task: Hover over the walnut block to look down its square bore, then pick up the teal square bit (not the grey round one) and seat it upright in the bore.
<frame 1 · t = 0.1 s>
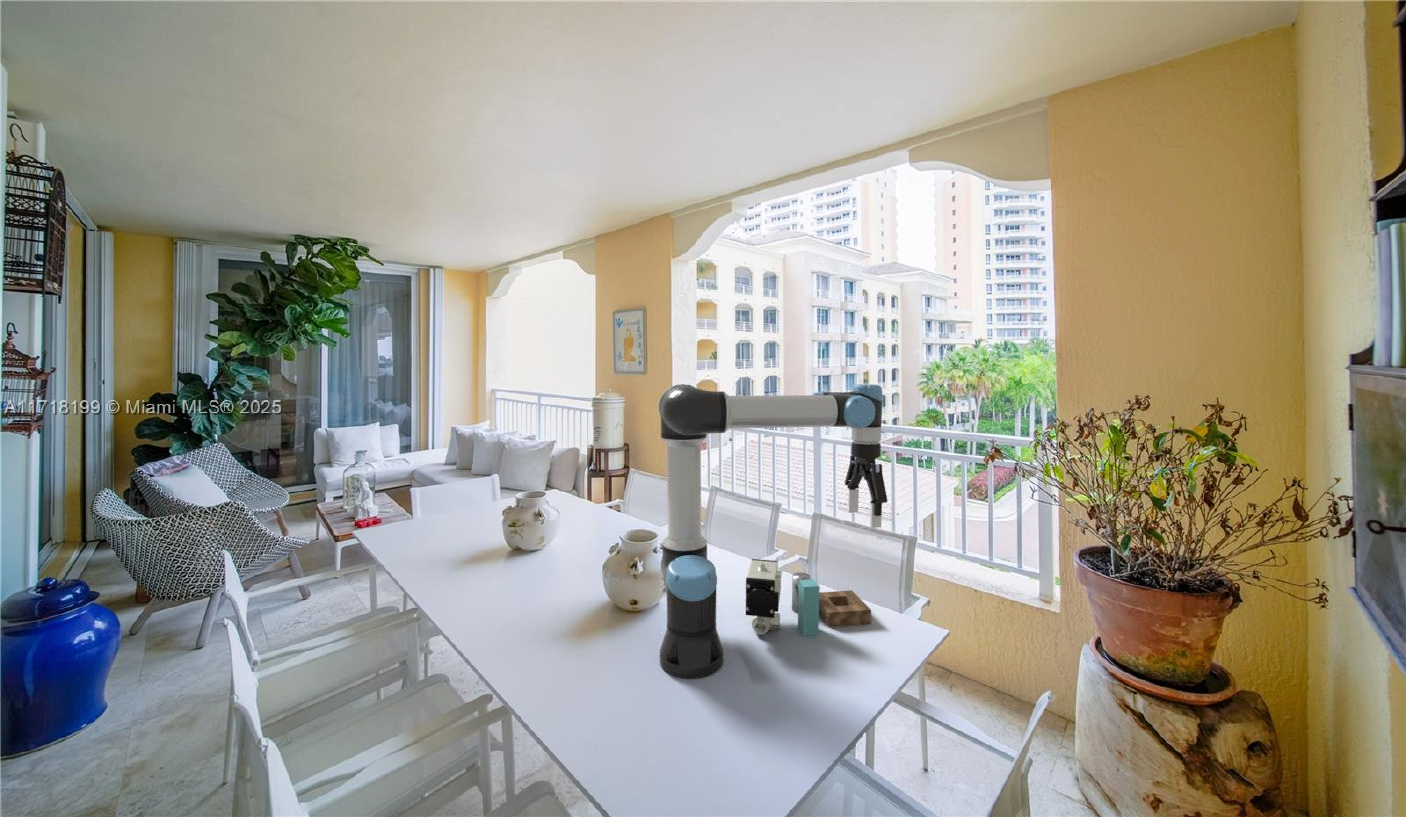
hand: (863, 519, 140), 28 cm above the table, fingers open, 13 cm apart
square bit: (807, 630, 136), on the table
round bit: (800, 609, 148), on the table
bore block: (840, 614, 145), on the table
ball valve: (764, 628, 137), on the table
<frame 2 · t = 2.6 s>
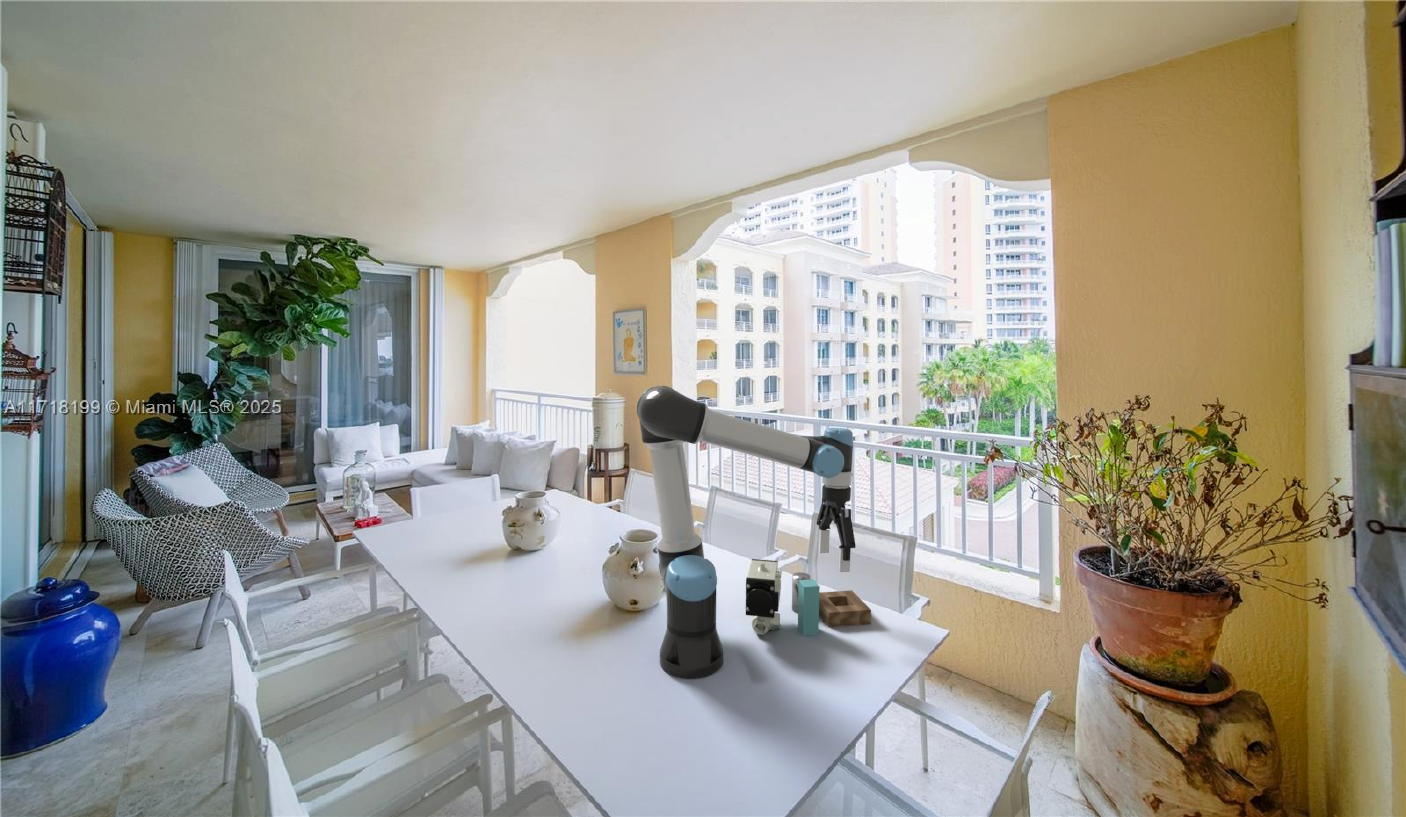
hand: (833, 561, 141), 16 cm above the table, fingers open, 13 cm apart
nothing on the table moved.
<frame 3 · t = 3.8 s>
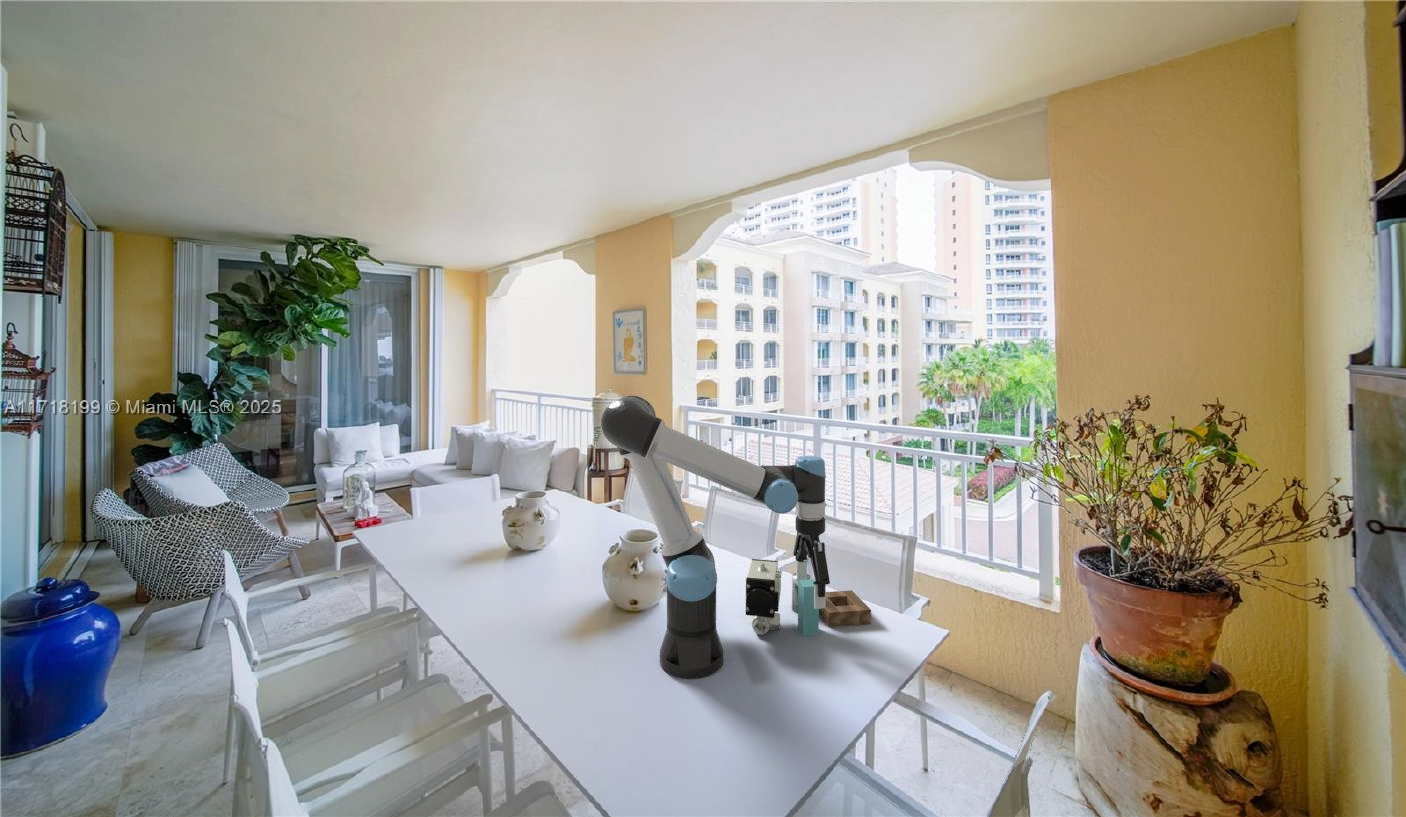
hand: (810, 595, 135), 10 cm above the table, fingers open, 13 cm apart
nothing on the table moved.
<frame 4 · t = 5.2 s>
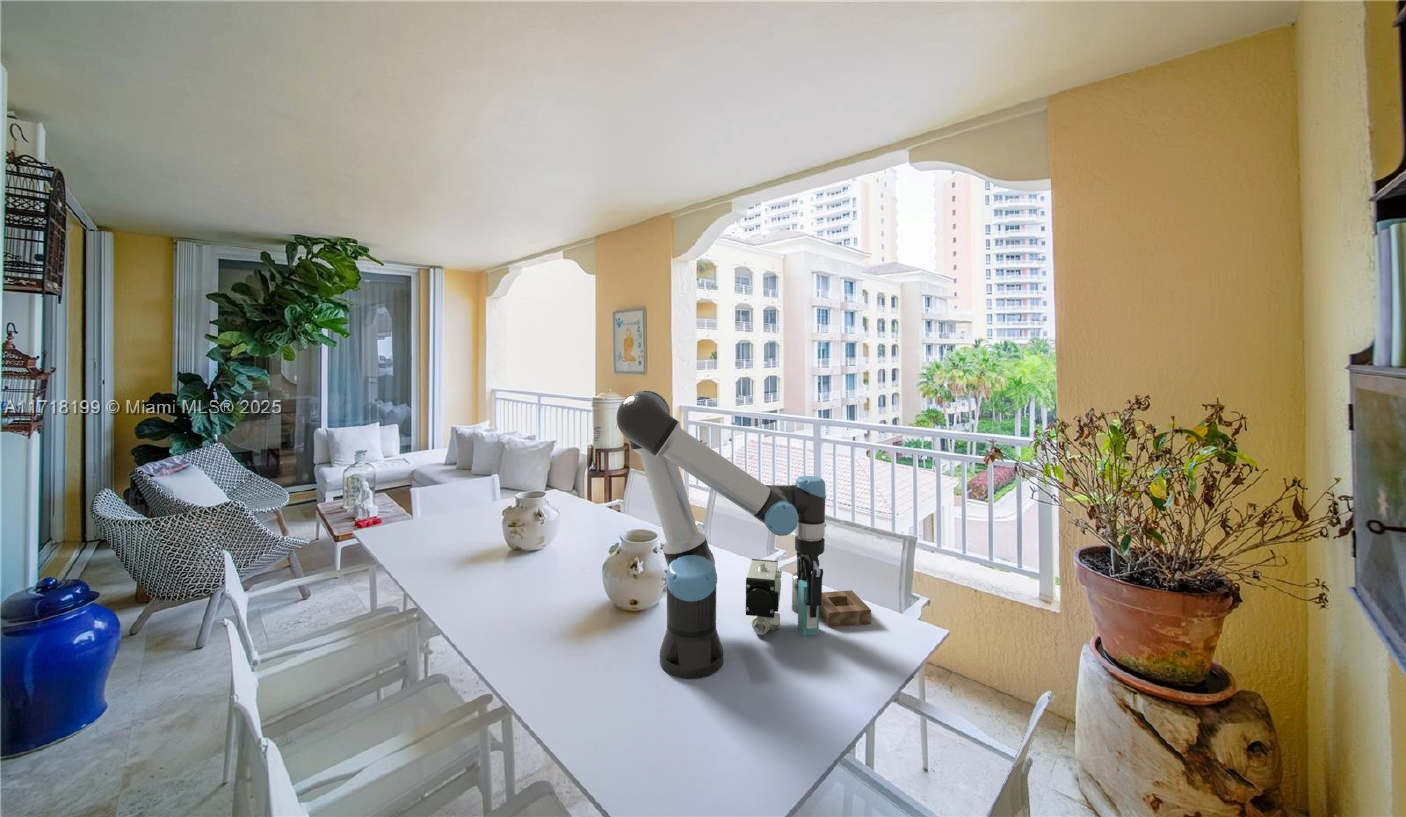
hand: (808, 622, 136), 2 cm above the table, fingers closed on square bit, 4 cm apart
square bit: (808, 630, 136), on the table, touching gripper
everything else where it was.
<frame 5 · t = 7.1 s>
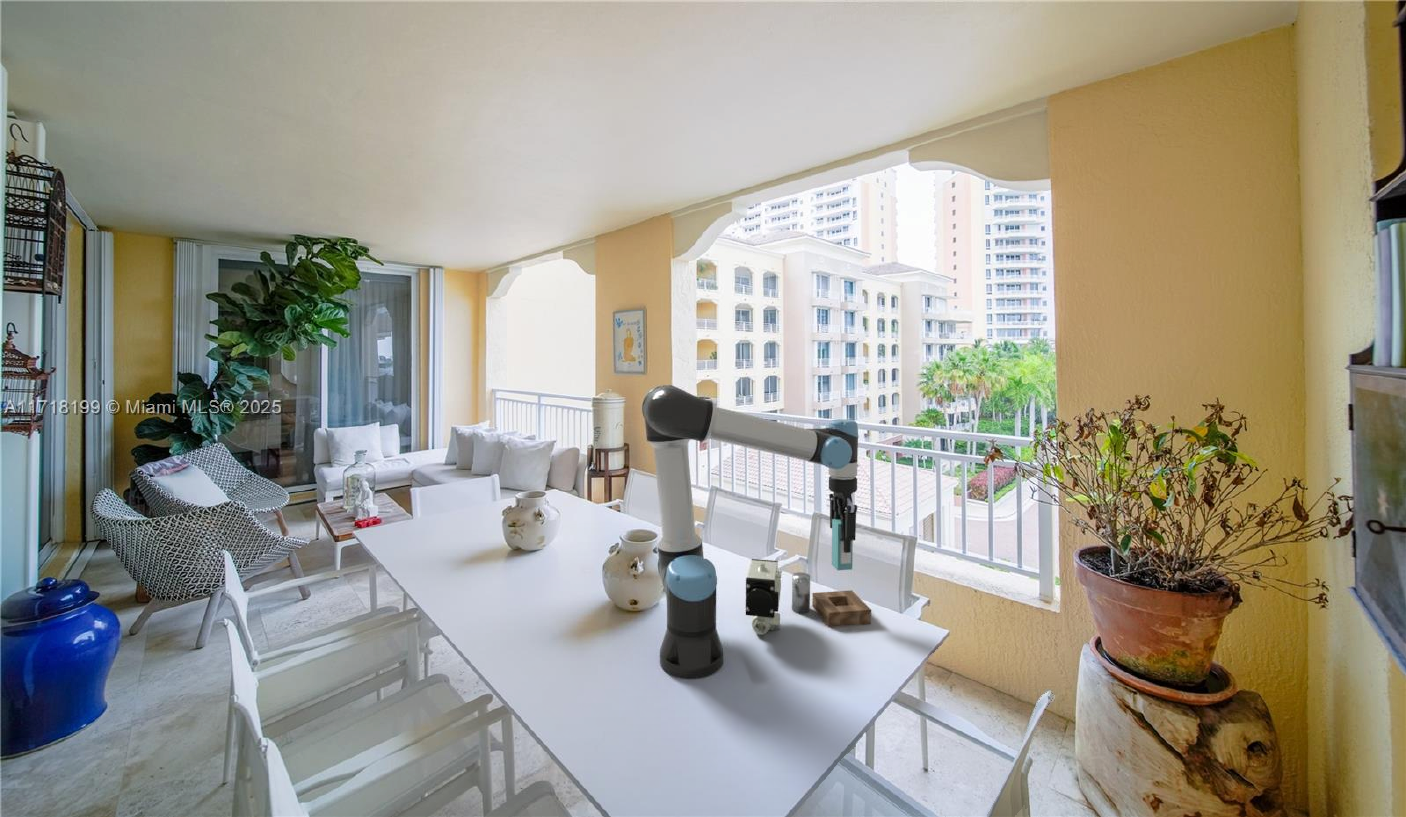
hand: (841, 559, 143), 16 cm above the table, fingers closed on square bit, 4 cm apart
square bit: (841, 566, 143), point 14 cm above the table, touching gripper
everything else where it was.
when the fingers open (5 cm above the table, at t = 8.9 s): square bit drops 3 cm, resting in bore block.
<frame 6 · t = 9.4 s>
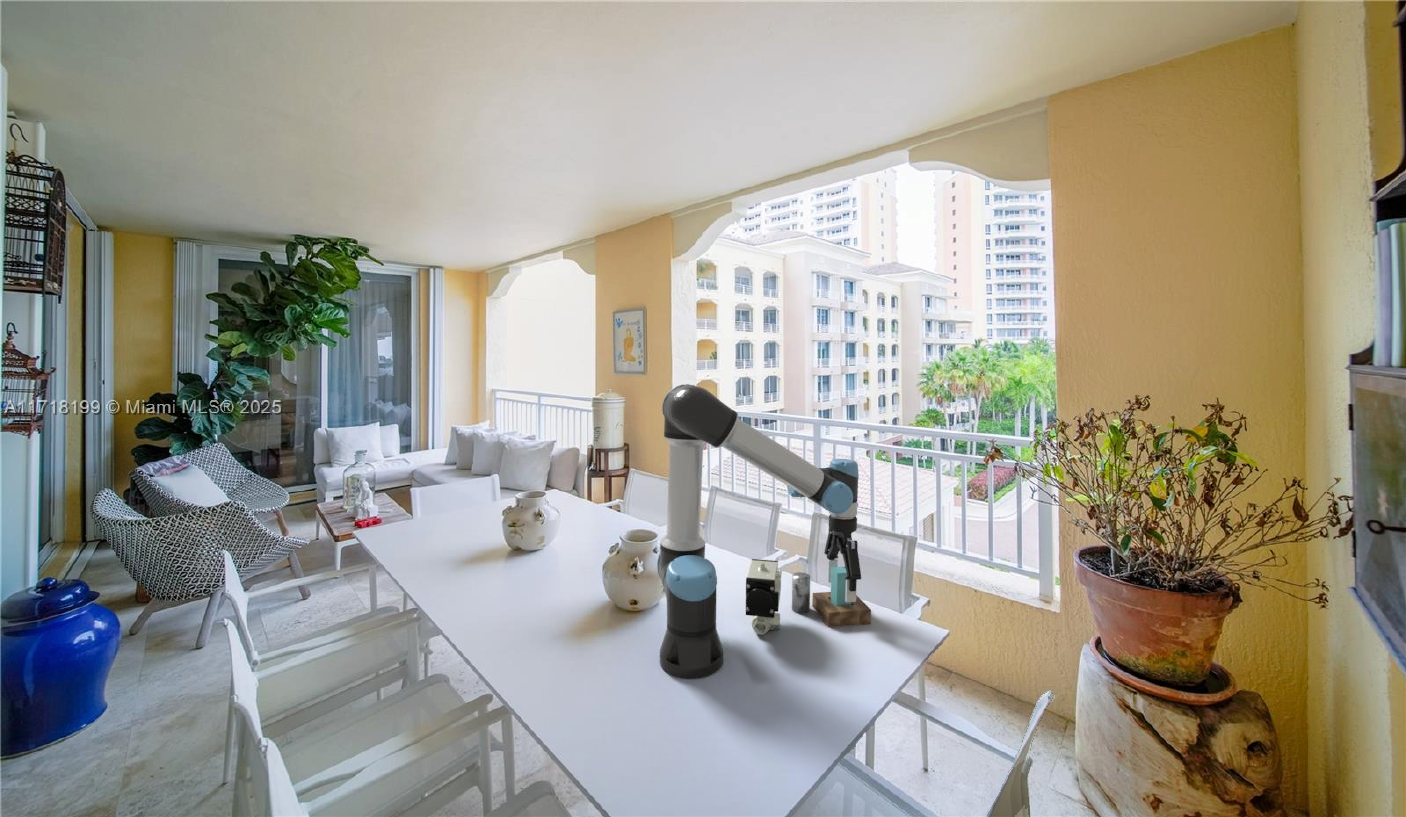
hand: (841, 591, 144), 7 cm above the table, fingers open, 12 cm apart
square bit: (840, 614, 145), resting in bore block
everything else where it was.
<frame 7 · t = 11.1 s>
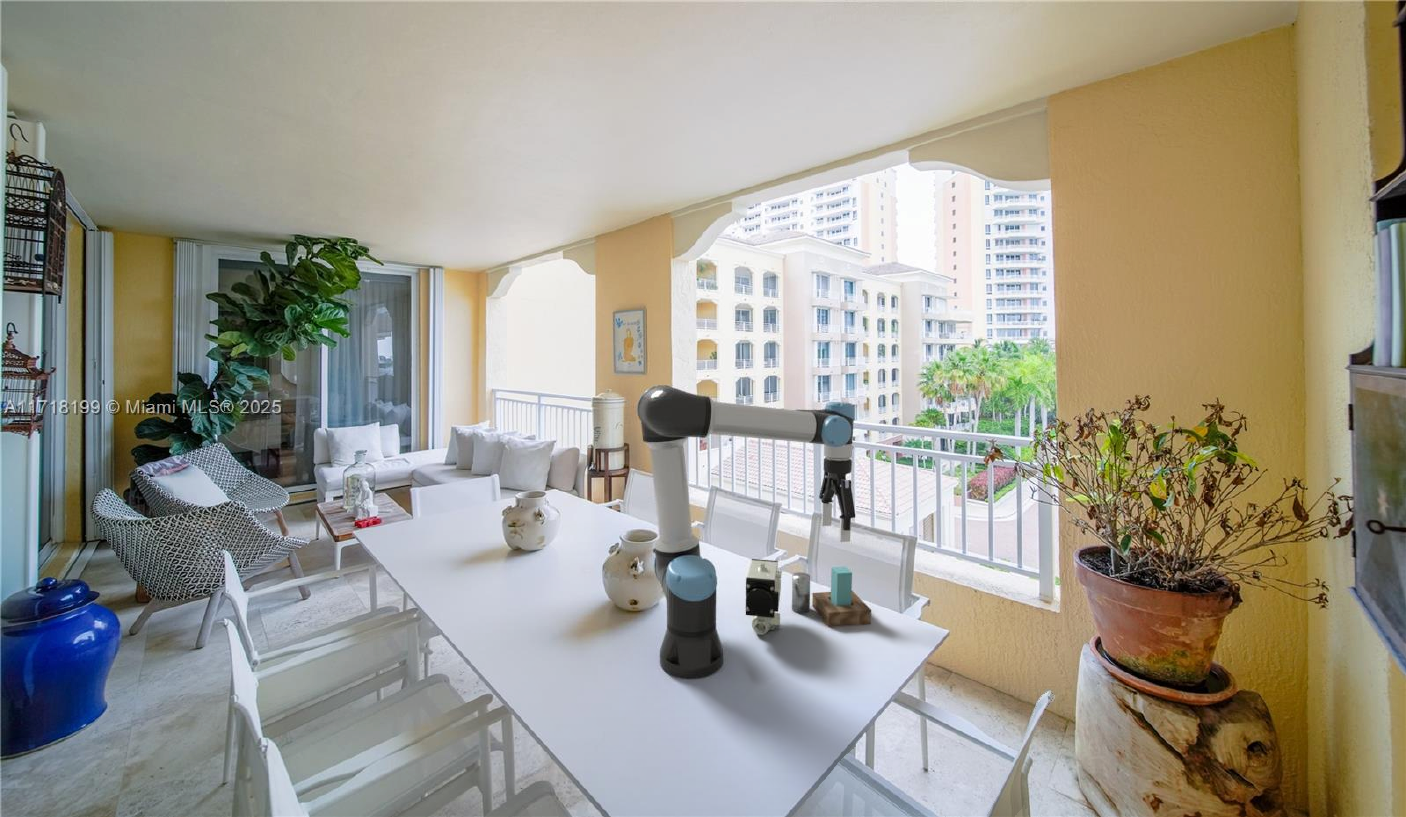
hand: (835, 533, 144), 23 cm above the table, fingers open, 13 cm apart
nothing on the table moved.
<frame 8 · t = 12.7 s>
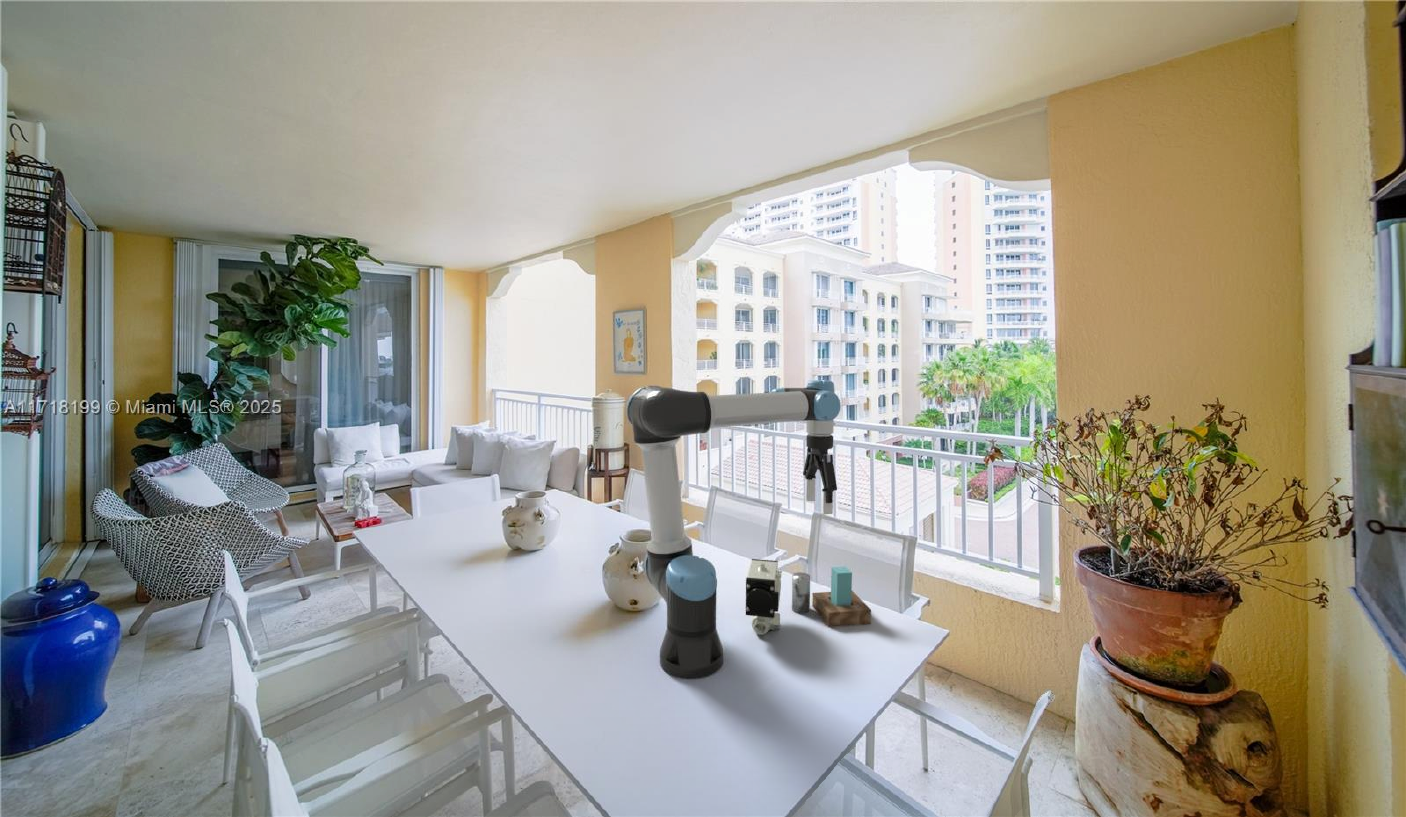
hand: (818, 507, 149), 29 cm above the table, fingers open, 13 cm apart
nothing on the table moved.
at the end: square bit 0.0 cm off-centre on the bore block, point 0.0 cm above the bore block's base; square bit tilted 0°; the gripper is holding nothing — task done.
